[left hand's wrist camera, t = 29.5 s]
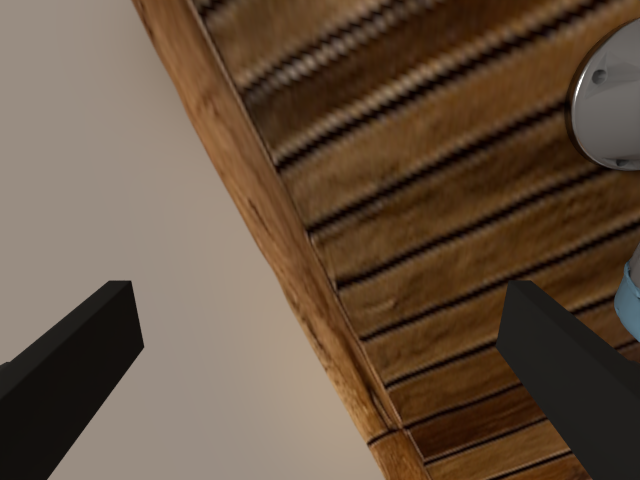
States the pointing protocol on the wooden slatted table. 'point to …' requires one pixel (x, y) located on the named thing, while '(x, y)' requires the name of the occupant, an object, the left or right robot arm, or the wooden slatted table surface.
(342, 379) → the wooden slatted table surface
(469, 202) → the wooden slatted table surface
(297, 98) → the wooden slatted table surface
